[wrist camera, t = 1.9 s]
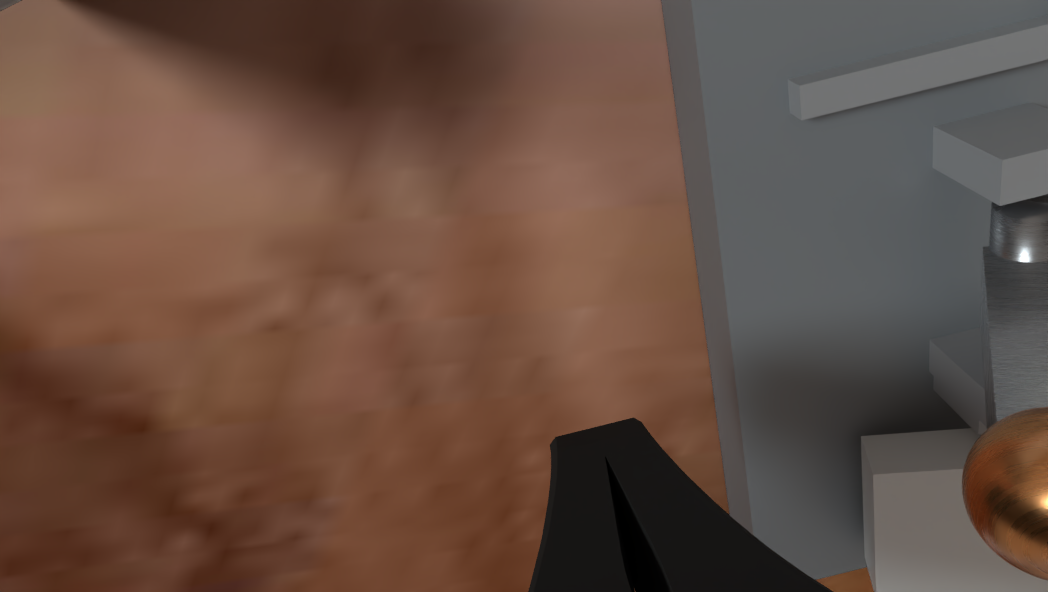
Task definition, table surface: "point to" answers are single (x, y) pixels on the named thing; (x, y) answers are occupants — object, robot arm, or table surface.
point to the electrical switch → (7, 3)
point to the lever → (1013, 390)
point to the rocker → (927, 518)
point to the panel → (847, 231)
